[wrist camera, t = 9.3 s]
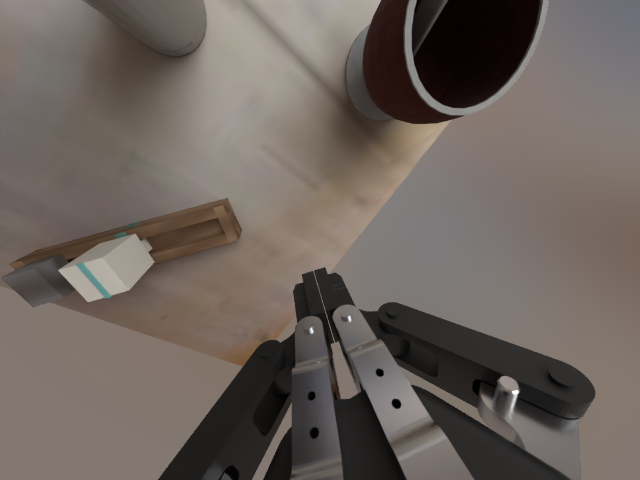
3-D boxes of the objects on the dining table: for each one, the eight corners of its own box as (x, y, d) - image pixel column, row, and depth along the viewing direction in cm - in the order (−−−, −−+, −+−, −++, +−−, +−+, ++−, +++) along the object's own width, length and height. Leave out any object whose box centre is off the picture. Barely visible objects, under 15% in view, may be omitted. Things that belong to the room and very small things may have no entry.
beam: (35, 249, 35) (-25, 280, 28) (227, 197, 37) (216, 213, 30) (65, 281, 38) (17, 315, 30) (241, 230, 40) (235, 252, 33)
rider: (108, 236, 34) (55, 270, 26) (142, 227, 34) (100, 257, 26) (129, 264, 36) (87, 304, 28) (161, 255, 36) (128, 292, 28)
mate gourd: (445, 69, 35) (624, 4, 17) (382, 145, 38) (480, 156, 20) (379, -32, 28) (555, -300, 11) (311, 69, 32) (361, -10, 14)
